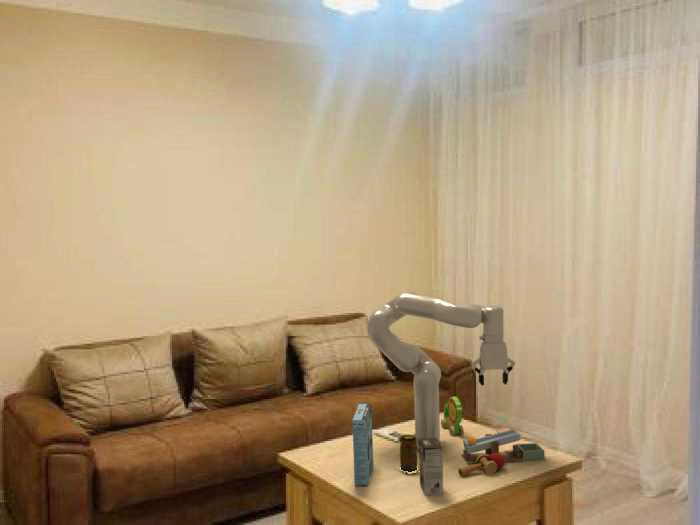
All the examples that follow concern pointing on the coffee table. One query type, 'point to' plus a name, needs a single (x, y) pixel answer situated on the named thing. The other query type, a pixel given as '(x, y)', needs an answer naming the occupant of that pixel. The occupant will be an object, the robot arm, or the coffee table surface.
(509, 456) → the stand
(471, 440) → the ball
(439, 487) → the coffee box
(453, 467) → the coffee table surface
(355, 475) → the gum box
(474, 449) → the lever
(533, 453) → the green square tray
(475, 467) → the kendama
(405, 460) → the condiment
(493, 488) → the coffee table surface
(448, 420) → the toy lion
